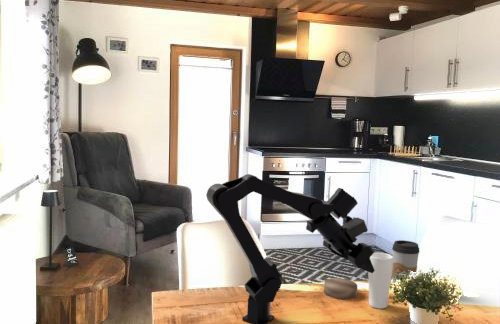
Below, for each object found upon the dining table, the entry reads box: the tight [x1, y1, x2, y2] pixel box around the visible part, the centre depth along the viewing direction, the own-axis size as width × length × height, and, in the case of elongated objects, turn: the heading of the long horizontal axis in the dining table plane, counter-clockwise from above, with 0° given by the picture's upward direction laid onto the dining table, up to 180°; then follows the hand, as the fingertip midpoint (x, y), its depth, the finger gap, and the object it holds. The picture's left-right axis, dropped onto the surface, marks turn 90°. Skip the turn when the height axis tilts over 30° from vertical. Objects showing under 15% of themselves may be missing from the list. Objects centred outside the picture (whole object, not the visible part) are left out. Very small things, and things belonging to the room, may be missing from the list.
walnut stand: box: [323, 277, 358, 301], centre depth 141 cm, size 10×10×3 cm
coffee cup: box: [391, 239, 420, 284], centre depth 146 cm, size 8×8×15 cm
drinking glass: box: [367, 251, 393, 310], centre depth 132 cm, size 7×7×15 cm
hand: (363, 266), depth 130 cm, fingers open, 9 cm apart
